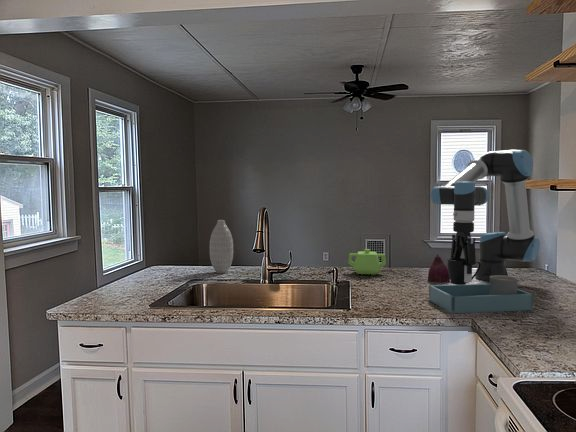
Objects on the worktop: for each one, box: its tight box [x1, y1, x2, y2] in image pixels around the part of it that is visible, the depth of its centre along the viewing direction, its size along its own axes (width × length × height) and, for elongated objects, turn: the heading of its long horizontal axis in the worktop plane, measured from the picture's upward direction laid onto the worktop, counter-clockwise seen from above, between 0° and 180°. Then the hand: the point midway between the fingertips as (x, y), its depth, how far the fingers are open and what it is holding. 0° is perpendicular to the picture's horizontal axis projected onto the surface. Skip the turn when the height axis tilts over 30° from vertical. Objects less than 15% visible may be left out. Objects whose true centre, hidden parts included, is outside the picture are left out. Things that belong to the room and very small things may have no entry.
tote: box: [428, 283, 534, 314], centre depth 186 cm, size 32×20×6 cm, turn 97°
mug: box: [447, 257, 481, 285], centre depth 183 cm, size 8×12×10 cm
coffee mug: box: [489, 275, 519, 295], centre depth 186 cm, size 13×10×10 cm
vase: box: [209, 219, 234, 274], centre depth 255 cm, size 13×13×28 cm
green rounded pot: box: [347, 248, 387, 276], centre depth 253 cm, size 18×20×13 cm
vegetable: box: [427, 253, 451, 284], centre depth 231 cm, size 10×10×15 cm
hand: (462, 279), depth 185 cm, fingers closed on mug, 8 cm apart
